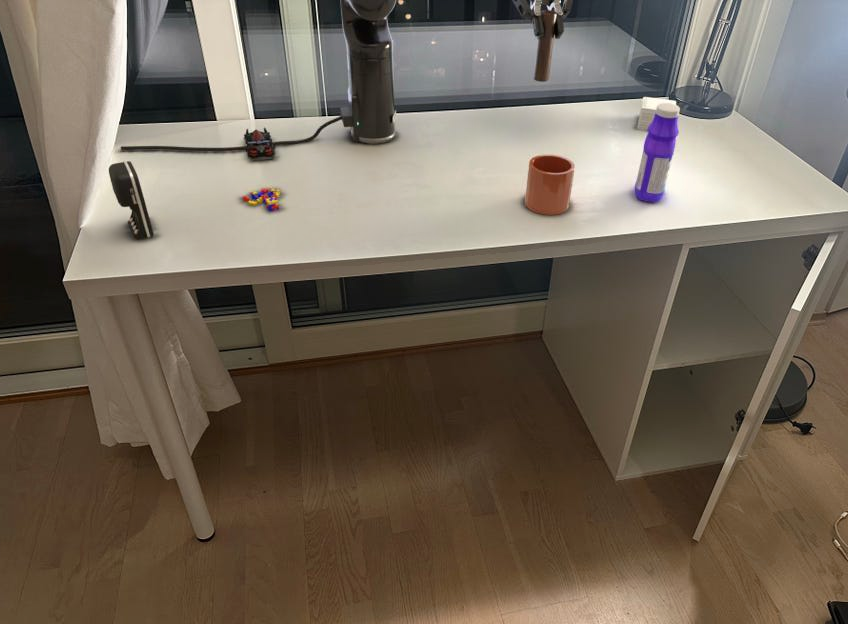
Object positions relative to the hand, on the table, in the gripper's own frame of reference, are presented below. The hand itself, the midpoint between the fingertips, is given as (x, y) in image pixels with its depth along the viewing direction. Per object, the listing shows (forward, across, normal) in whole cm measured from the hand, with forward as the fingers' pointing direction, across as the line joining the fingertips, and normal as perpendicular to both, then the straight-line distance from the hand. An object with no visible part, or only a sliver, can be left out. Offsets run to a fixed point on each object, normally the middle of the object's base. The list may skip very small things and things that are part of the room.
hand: (550, 36), depth 140 cm
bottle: (+35, +13, -4) cm, 38 cm away
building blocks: (+28, -59, +3) cm, 65 cm away
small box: (+12, +31, +19) cm, 38 cm away
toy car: (+12, -59, +20) cm, 63 cm away
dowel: (+5, 0, +8) cm, 9 cm away
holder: (+35, -8, -4) cm, 36 cm away
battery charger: (+33, -80, -1) cm, 86 cm away
